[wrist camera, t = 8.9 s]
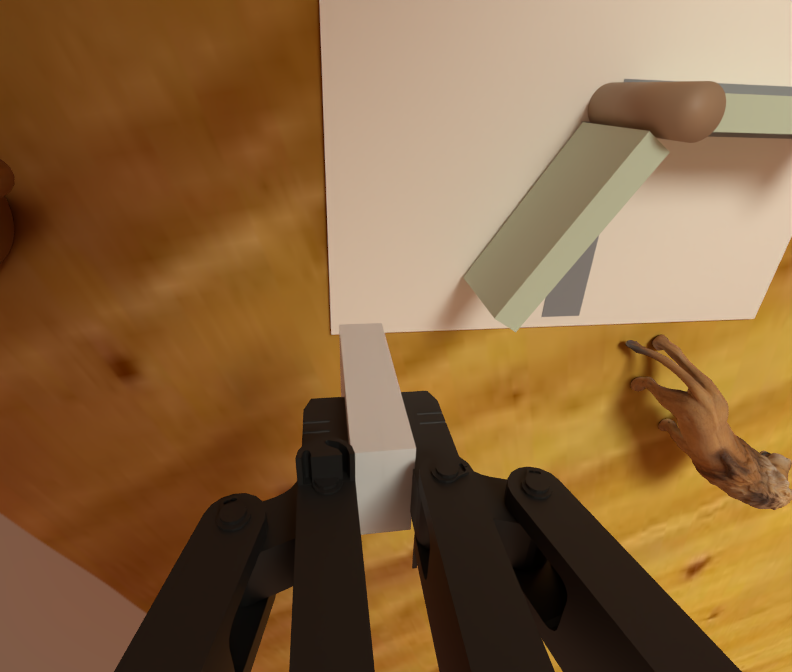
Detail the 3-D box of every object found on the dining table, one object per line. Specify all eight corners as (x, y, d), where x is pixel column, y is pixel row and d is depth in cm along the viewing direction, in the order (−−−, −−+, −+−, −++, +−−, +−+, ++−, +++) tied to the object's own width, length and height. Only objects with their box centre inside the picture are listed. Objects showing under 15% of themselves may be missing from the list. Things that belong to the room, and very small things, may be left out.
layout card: (315, -110, 20) (315, -113, 20) (914, -49, 25) (922, -51, 24) (331, 332, 31) (331, 335, 30) (751, 317, 35) (754, 319, 35)
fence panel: (463, 277, 29) (494, 318, 24) (582, 122, 26) (649, 130, 21) (481, 289, 30) (515, 332, 25) (600, 139, 27) (670, 152, 21)
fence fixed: (593, 81, 25) (683, 79, 19) (832, 92, 28) (983, 94, 21) (583, 129, 26) (665, 142, 20) (813, 135, 29) (951, 149, 22)
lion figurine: (728, 413, 40) (827, 492, 32) (676, 450, 41) (760, 535, 34) (649, 315, 34) (749, 383, 26) (591, 362, 35) (670, 441, 27)
